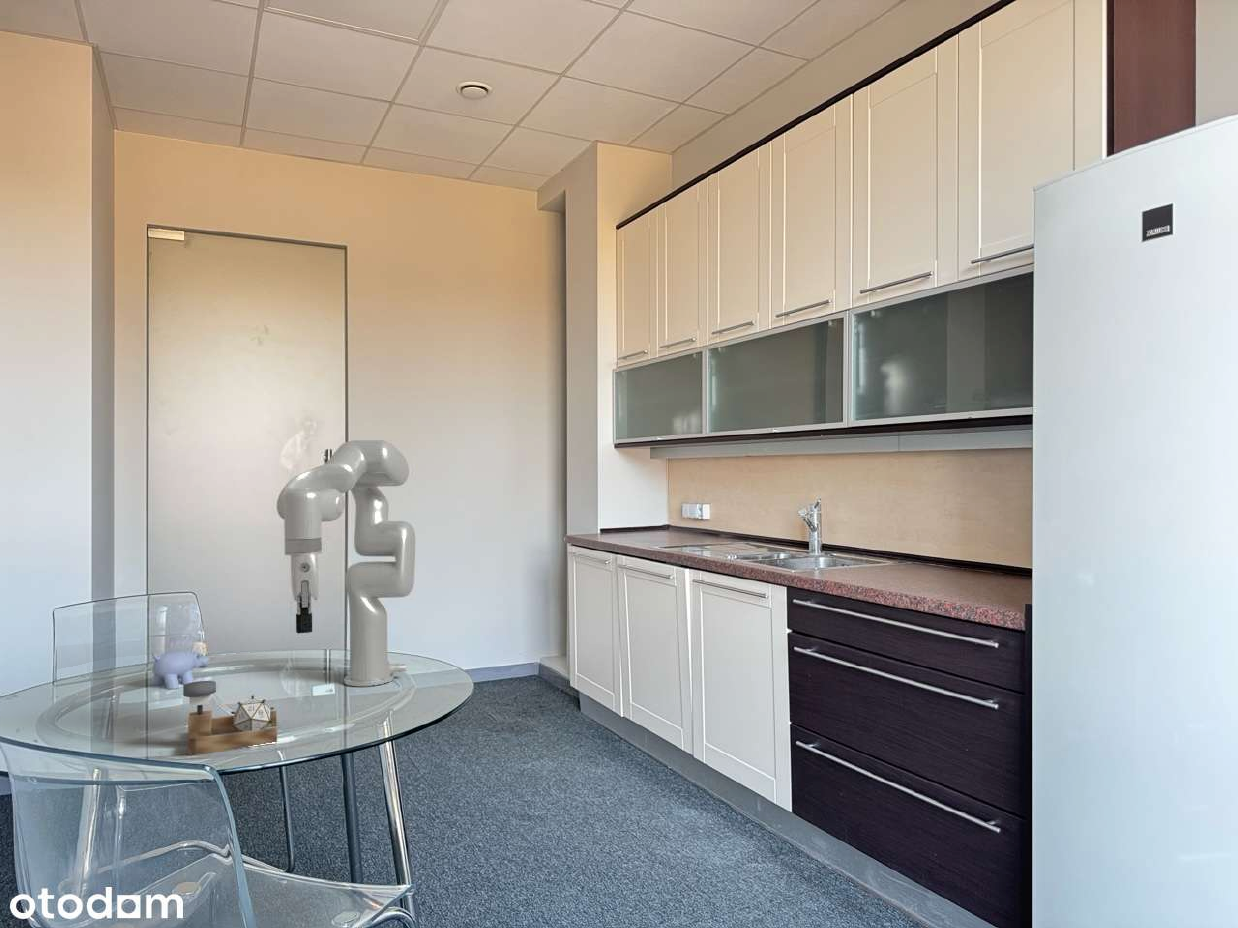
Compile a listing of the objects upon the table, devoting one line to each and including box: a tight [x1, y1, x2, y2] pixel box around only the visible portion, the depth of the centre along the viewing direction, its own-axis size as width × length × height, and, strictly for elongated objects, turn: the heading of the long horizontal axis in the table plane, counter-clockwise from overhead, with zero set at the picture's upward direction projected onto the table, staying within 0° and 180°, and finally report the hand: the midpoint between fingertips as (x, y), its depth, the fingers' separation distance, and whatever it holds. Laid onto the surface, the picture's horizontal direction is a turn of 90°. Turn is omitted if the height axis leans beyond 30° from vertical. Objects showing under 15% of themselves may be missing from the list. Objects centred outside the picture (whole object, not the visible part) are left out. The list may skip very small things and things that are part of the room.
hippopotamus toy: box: [150, 650, 210, 690], centre depth 219 cm, size 11×15×10 cm
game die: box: [229, 694, 275, 732], centre depth 173 cm, size 9×8×10 cm
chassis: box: [187, 705, 278, 756], centre depth 171 cm, size 16×14×8 cm
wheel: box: [182, 680, 217, 707], centre depth 169 cm, size 6×6×4 cm
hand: (304, 632), depth 177 cm, fingers closed
